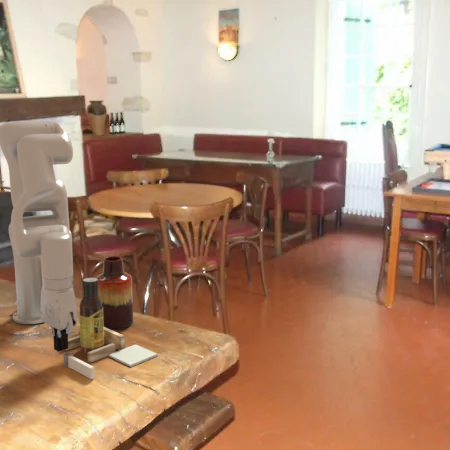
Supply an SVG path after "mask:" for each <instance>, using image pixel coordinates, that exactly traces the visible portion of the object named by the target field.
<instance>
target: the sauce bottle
mask: <svg viewBox="0 0 450 450" xmlns="http://www.w3.org/2000/svg"><path fill="white" fill-rule="evenodd" d="M82 286H83V293H82V294H83V297H82V299H81V301H80V303H79V314H78V315H79V335H80V345H81V346H80V348H81V349H80V350H81V352H82V353H83V354H85V355H87V352H90V351H93V350H95V349H98V348H101V347H104V346H105V343H104V321H103V306H102V303H101V301H100V298H99V296H98V279H97V278H96V277H86V278H83V279H82Z"/></svg>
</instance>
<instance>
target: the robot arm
mask: <svg viewBox="0 0 450 450" xmlns="http://www.w3.org/2000/svg"><path fill="white" fill-rule="evenodd" d="M0 150H1V152H2V154H3V156H4V158H5V161H6V162H7V167H8V174H9V175H8V176H9V187H10V197H11V204H12V207H13V208H12V212H11V214H10V224H9V226H8V235H9V240H10V245H11V248H12V249H11V250H12V255H13V265H14V266H13V267H14V277H15V278H14V279H15V292H16V301H15V302H14V305H15V306H16V308H17V311H15V312H14V313H13V314H12V320H13V321H14V322H15V323H17V324H20V325H21V324H22V325H37V324H43V323H45V324H47V325H49V326H50V327H51V334H52V335H53V349H54V351H56V352H58V353H59V352H62V351H64V350H65V349H67V348H68V339H69V335H71V334H73V333H75V329H74V327H75V326H76V325H77V322H78V314H77V313H78V310H77V301H76V295H75V290H74V286H75V283H74V282H75V281H74V279H75V278H74V262H73V261H74V260H73V256H74V255H73V234H72V232H71V230H70V217H69V201H68V193H67V191H68V190H67V189H66V186H65V184H64V182H63V181H62V180H61V179H58V178H56V176H55V169H54V165H68V164H69V163H71V162H72V160H73V157H74V148H73V143H72V140H71V138H70V136H69V134H68V133H67V131H66V130H65V129H64V127H63V126H62V124H61V123H60V122H57V121H55V120H54V121H53V120H38V121H37V120H34V121H33V120H25V121H23V120H22V121H19V120H18V121H10V122H9V121H8V122H5V123H2V124H1V125H0ZM47 211H48V212H51V213H52V214H43V215H31V216H24V214H25V213H35V212H36V213H37V212H47ZM65 351H66V350H65Z"/></svg>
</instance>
